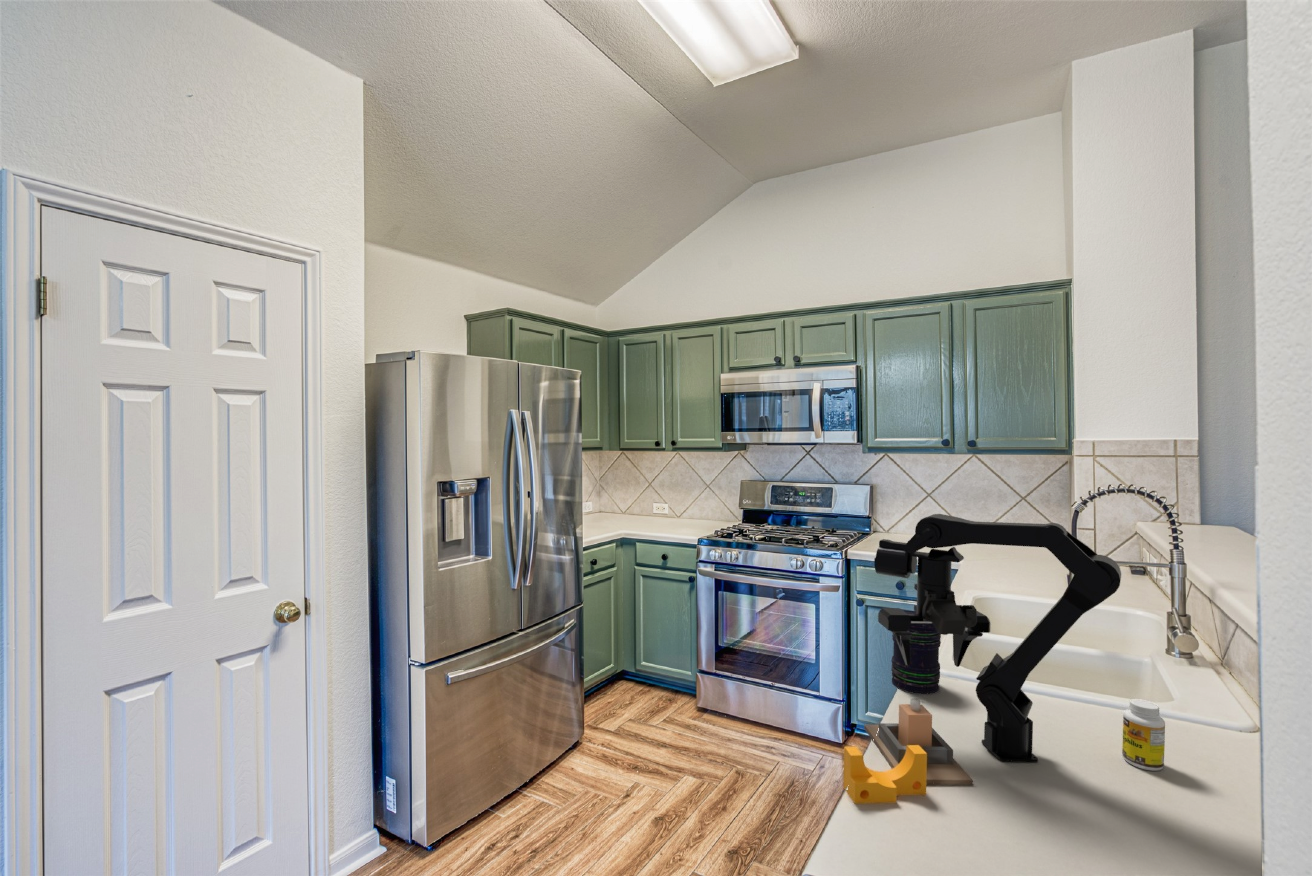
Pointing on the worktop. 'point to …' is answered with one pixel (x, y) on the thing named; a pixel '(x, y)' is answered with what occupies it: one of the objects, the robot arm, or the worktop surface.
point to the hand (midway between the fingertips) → (932, 665)
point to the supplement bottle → (1143, 735)
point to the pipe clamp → (885, 777)
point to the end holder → (938, 756)
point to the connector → (915, 724)
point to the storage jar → (918, 661)
